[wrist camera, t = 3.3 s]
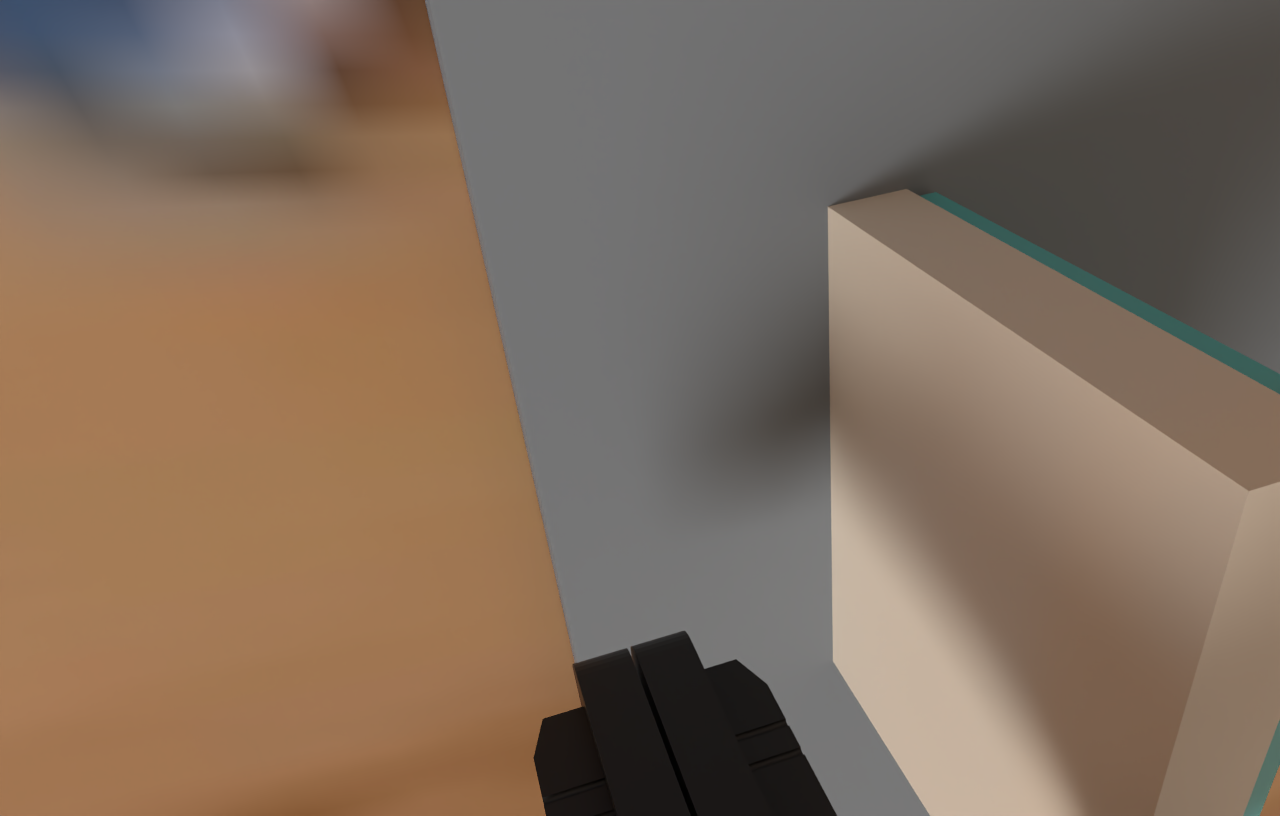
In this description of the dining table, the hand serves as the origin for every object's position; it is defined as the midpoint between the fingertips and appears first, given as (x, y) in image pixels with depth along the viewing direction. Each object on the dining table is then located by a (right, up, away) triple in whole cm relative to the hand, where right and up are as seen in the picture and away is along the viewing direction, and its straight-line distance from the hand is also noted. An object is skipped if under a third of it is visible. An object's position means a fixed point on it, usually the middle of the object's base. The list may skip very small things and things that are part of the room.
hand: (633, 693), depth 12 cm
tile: (+4, +3, +3) cm, 6 cm away
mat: (+5, +3, +5) cm, 8 cm away
